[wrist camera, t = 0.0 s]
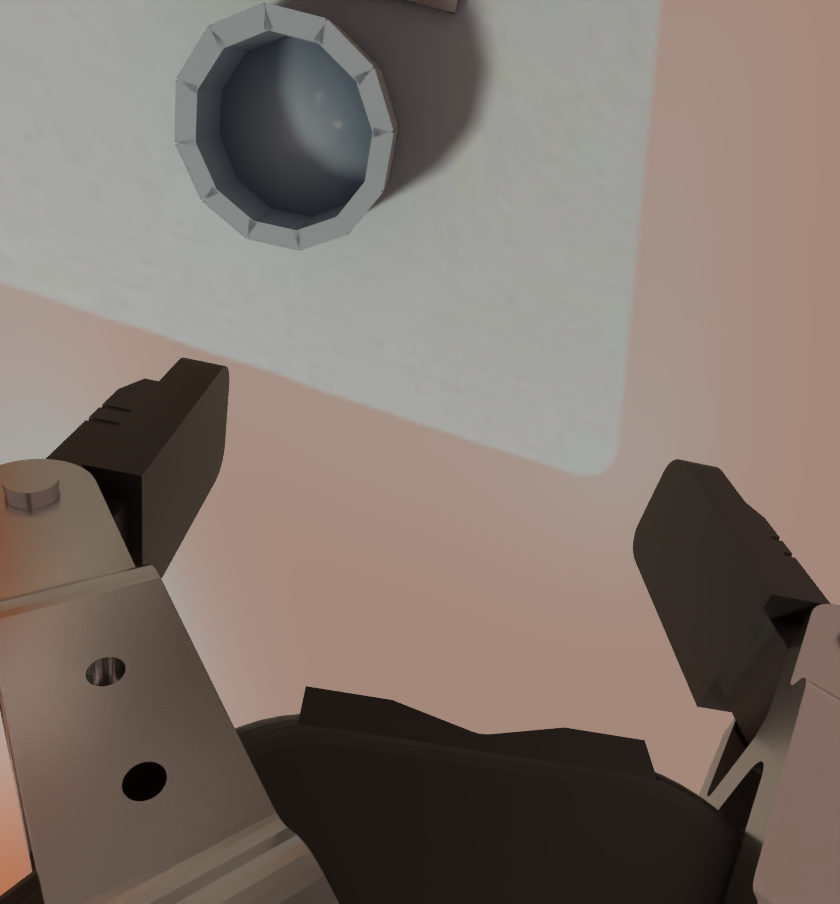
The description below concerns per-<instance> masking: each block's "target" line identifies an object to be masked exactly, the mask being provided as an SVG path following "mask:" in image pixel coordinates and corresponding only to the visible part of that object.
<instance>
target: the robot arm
mask: <svg viewBox="0 0 840 904" xmlns="http://www.w3.org/2000/svg"><path fill="white" fill-rule="evenodd" d="M228 392H229V371H228V368H227V367H226V366H222V365H217V364H212V363H207V362H202V361H197V360H192V359H187V358H181V359H180V360H179V361H178V362H177V363H176V364H175V365H174V366H173V367H172V368H171V369H170V370H169V371H168V372H167V373H166V374H165V376H164V377H163V378H162V379H161V380H160V381H153V380H149V379H143V380H140V381H138V382H135V383H133V384H130V385H128V386H125V387H123V388H120V389H118V390H117V391H116V392H115V393H114V394H113V395H112V396H111V397H110V398H109V399H108V400H107V401H106V402H105V403H104V404H103V405H102V408H98V409H97V410H96V411H95V412H94V413H93V414H92V415H91V416H90V417H89V421H85V422H84V423H83V424H82V425H80V426H79V427H78V428H77V429H76V430H75V431H74V432H73V433H72V434H71V435H70V436H69V437H68V438H67V439H66V440H65V441H64V442H63V443H62V444H61V445H60V446H59V447H58V448H57V449H56V450H54V451H53V452H52V453H51V455H49V456H48V457H47V458H46V459H30V460H21V461H15V462H10V463H6V464H2V465H0V712H1V716H2V721H3V726H4V732H5V737H6V742H7V747H8V752H9V757H10V762H11V767H12V772H13V777H14V782H15V787H16V792H17V797H18V802H19V808H20V813H21V818H22V824H23V829H24V834H25V840H26V845H27V850H28V855H29V860H30V865H31V870H32V872H31V873H30V874H29V875H27V876H26V877H25V878H23V879H22V880H21V881H19V882H18V883H17V884H16V885H14V886H13V887H12V888H11V889H9V890H8V891H6V892H5V893H4V894H2V895H1V896H0V904H840V606H839V605H834V604H830V603H829V601H828V600H827V599H826V598H825V596H824V595H823V594H822V592H821V591H820V590H819V588H818V587H817V586H816V584H815V583H814V582H813V580H812V579H811V578H810V576H809V575H808V574H807V573H806V571H805V570H804V569H803V567H802V566H801V565H800V563H799V562H798V561H797V560H796V558H793V557H791V555H792V553H791V552H790V551H789V549H788V548H787V547H786V546H785V544H784V543H783V541H779V536H778V535H777V534H776V532H775V531H774V530H773V528H772V527H771V526H770V524H769V523H768V522H767V521H766V519H765V518H764V517H762V515H760V514H759V513H758V512H757V511H755V510H754V509H753V508H752V507H750V506H749V505H748V504H747V503H745V501H744V500H743V499H742V497H741V496H740V495H739V493H738V492H737V491H736V489H735V488H734V487H733V486H732V484H731V483H730V481H729V480H728V479H727V477H726V476H725V475H724V473H723V472H722V471H721V470H720V469H719V468H717V467H713V466H708V465H703V464H698V463H693V462H689V461H684V460H679V459H677V460H674V461H672V462H671V463H670V464H669V465H668V466H667V468H666V469H665V471H664V472H663V475H662V477H661V479H660V481H659V483H658V485H657V487H656V489H655V491H654V493H653V495H652V497H651V499H650V501H649V503H648V505H647V508H646V509H645V511H644V514H643V516H642V518H641V520H640V522H639V524H638V526H637V528H636V532H635V536H634V541H633V553H634V558H635V561H636V564H637V566H638V568H639V571H640V573H641V575H642V578H643V580H644V583H645V585H646V587H647V590H648V592H649V594H650V597H651V599H652V601H653V604H654V606H655V608H656V611H657V613H658V615H659V618H660V620H661V622H662V625H663V627H664V629H665V632H666V634H667V637H668V639H669V641H670V643H671V646H672V648H673V651H674V653H675V655H676V657H677V660H678V662H679V665H680V667H681V669H682V672H683V674H684V676H685V679H686V681H687V683H688V686H689V688H690V691H691V693H692V695H693V697H694V700H695V702H696V705H697V707H704V708H709V709H716V710H722V711H728V712H732V713H733V715H734V720H733V721H732V723H731V724H730V725H729V727H728V728H727V729H726V731H725V733H724V734H723V737H722V739H721V741H720V744H719V746H718V749H717V751H716V754H715V756H714V759H713V761H712V764H711V766H710V769H709V771H708V774H707V776H706V779H705V781H704V784H703V786H702V788H701V791H700V794H699V796H698V795H697V794H695V793H694V792H692V791H690V790H689V789H687V788H686V787H684V786H682V785H681V784H679V783H677V782H675V781H673V780H671V779H669V778H667V777H665V776H663V775H661V774H658V773H656V772H654V768H653V765H652V762H651V759H650V756H649V753H648V750H647V747H646V744H645V741H644V740H638V739H632V738H626V737H620V736H614V735H607V734H601V733H595V732H588V731H582V730H576V729H570V728H555V729H544V730H533V731H522V732H511V733H501V734H489V735H488V734H487V735H485V734H478V733H475V732H471V731H469V730H466V729H464V728H461V727H458V726H456V725H454V724H451V723H449V722H446V721H444V720H441V719H438V718H436V717H433V716H430V715H428V714H426V713H423V712H421V711H418V710H416V709H413V708H411V707H408V706H406V705H403V704H401V703H398V702H395V701H393V700H388V699H382V698H376V697H369V696H363V695H357V694H351V693H344V692H338V691H332V690H326V689H319V688H312V687H307V686H306V689H305V694H304V698H303V703H302V708H301V712H300V714H297V715H286V716H279V717H274V718H268V719H263V720H259V721H256V722H253V723H250V724H247V725H244V726H241V727H238V728H236V729H235V728H234V726H233V724H232V722H231V720H230V718H229V716H228V714H227V712H226V710H225V708H224V706H223V704H222V702H221V700H220V698H219V695H218V693H217V691H216V689H215V687H214V685H213V683H212V681H211V679H210V677H209V675H208V673H207V671H206V669H205V667H204V665H203V663H202V661H201V659H200V657H199V655H198V653H197V651H196V649H195V647H194V645H193V643H192V641H191V638H190V636H189V634H188V633H187V630H186V628H185V626H184V624H183V622H182V620H181V618H180V616H179V614H178V612H177V610H176V608H175V606H174V604H173V602H172V600H171V598H170V596H169V594H168V592H167V590H166V588H165V586H164V584H163V582H162V580H161V578H162V577H163V575H164V573H165V571H166V570H167V568H168V566H169V564H170V562H171V561H172V559H173V557H174V555H175V553H176V551H177V550H178V548H179V546H180V544H181V542H182V540H183V539H184V537H185V535H186V533H187V532H188V530H189V528H190V526H191V524H192V523H193V521H194V519H195V517H196V515H197V514H198V512H199V510H200V508H201V506H202V504H203V503H204V501H205V499H206V497H207V495H208V494H209V492H210V490H211V488H212V486H213V484H214V483H215V481H216V479H217V476H218V474H219V471H220V467H221V464H222V460H223V455H224V447H225V435H226V420H227V406H228Z"/></svg>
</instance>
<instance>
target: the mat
mask: <svg viewBox="0 0 840 904" xmlns="http://www.w3.org/2000/svg"><path fill="white" fill-rule="evenodd" d="M404 1H408V2H412V3H416V4H420V5H423V6H427V7H431V8H435V9H439V10H442V11H446V12H450V13H454V14H455V11H456V6H457V1H458V0H404Z"/></svg>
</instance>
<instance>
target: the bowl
mask: <svg viewBox="0 0 840 904" xmlns="http://www.w3.org/2000/svg"><path fill="white" fill-rule="evenodd" d="M209 26H210V27H209ZM209 26H208V27H207V28H206V30H205V32H204V33H203V35H202V37H201V38H200V40H199V42H198V43H197V45H196V47H195V48H194V50H193V51H192V53H191V55H190V56H189V58H188V60H187V61H186V63H185V65H184V66H183V68H182V70H181V71H180V73H179V74H178V76H177V79H178V80H176V105H175V142H176V143H177V144H175V145H176V147H177V149H178V151H179V153H180V156H181V158H182V160H183V162H184V164H185V166H186V168H187V171H188V173H189V175H190V177H191V179H192V181H193V184H194V186H195V188H196V190H197V192H198V194H199V197H200V199H201V200H203V199H204V200H203V201H202V202H203V203H205V204H206V205H207V206H208V207H209V208H211V209H212V210H213V211H214V212H215V213H216V214H218V215H219V216H220V217H221V218H222V219H224V220H225V221H226V222H227V223H228V224H230V225H231V226H232V227H233V228H234V229H235V230H237V231H238V232H239V233H240V234H241V235H243V236H244V237H245V238H247V237H248V239H249V240H254V241H258V242H262V243H267V244H271V245H276V246H280V247H285V248H289V249H294V250H298V251H299V250H303V249H306V248H309V247H312V246H315V245H318V244H321V243H324V242H327V241H330V240H333V239H336V238H339V237H342V236H345V235H348V233H350V232H351V231H352V229H353V228H354V227H355V226H356V225H357V223H358V222H359V221H360V220H361V218H362V217H363V216H364V215H365V214H366V212H367V211H368V210H369V209H370V208H371V206H372V205H373V204H374V203H375V201H376V200H377V199H378V198H379V197H380V195H381V194H382V193H383V191H384V189H385V187H386V185H387V183H388V181H389V178H390V173H391V167H392V161H393V156H394V150H395V144H396V139H397V133H398V128H399V127H397V126H398V122H397V118H396V115H395V112H394V108H393V105H392V102H391V98H390V95H389V92H388V88H387V85H386V82H385V78H384V75H383V72H382V70H381V68H380V67H379V66H378V65H377V64H376V63H375V62H374V61H373V60H372V59H371V58H370V57H369V56H368V55H367V54H366V53H365V52H364V51H363V50H362V49H361V48H360V47H359V46H358V45H357V43H356V42H355V41H354V40H353V39H352V38H351V37H350V36H349V35H348V34H347V33H346V32H345V31H344V30H343V29H342V28H341V27H339V26H338V25H336V24H334V23H333V22H331V21H330V20H328V19H327V18H324V17H320V16H316V15H312V14H308V13H304V12H300V11H297V10H293V9H289V8H285V7H281V6H277V5H273V4H269V3H262V4H259V5H257V6H254V7H252V8H249V9H247V10H245V11H242V12H240V13H237V14H235V15H232V16H230V17H228V18H225V19H223V20H220V21H218V22H215V23H213V24H211V25H209Z"/></svg>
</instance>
